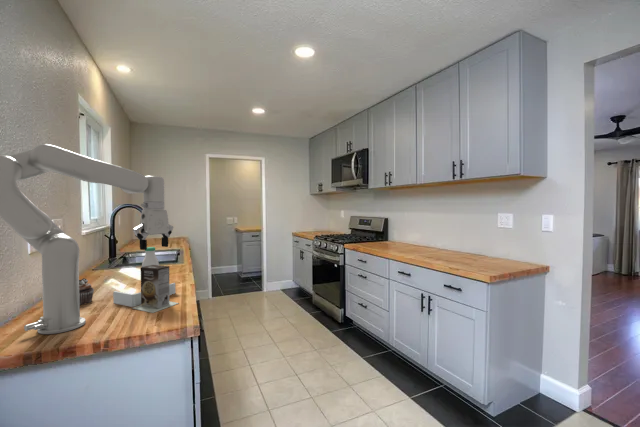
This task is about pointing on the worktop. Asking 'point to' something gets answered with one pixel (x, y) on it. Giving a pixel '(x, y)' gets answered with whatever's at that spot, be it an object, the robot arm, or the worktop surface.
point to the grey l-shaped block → (134, 297)
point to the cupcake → (85, 291)
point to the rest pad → (154, 308)
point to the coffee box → (154, 286)
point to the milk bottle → (150, 257)
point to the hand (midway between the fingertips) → (154, 248)
